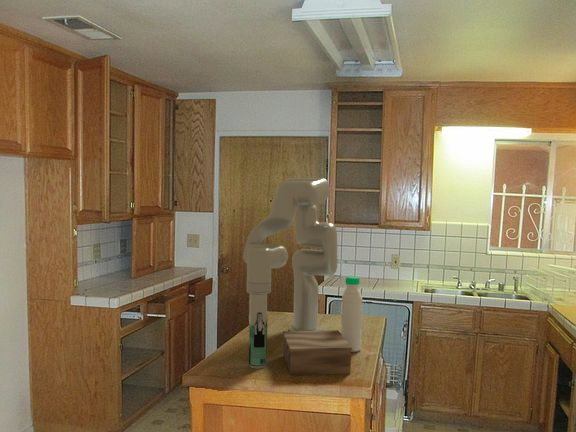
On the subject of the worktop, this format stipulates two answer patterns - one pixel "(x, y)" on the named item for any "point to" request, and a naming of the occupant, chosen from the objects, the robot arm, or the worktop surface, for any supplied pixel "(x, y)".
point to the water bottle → (352, 313)
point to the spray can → (257, 350)
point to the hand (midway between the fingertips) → (258, 342)
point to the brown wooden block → (316, 352)
